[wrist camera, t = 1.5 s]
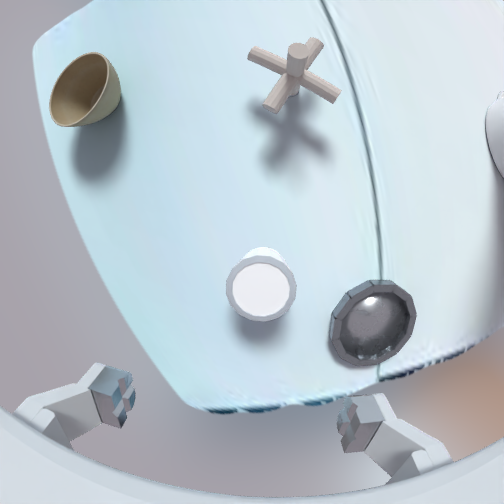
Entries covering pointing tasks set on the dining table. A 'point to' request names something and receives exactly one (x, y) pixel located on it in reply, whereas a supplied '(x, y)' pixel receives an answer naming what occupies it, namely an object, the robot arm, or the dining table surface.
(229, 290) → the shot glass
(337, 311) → the bowl
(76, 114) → the tan bowl
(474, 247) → the dining table surface
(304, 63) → the pipe connector
